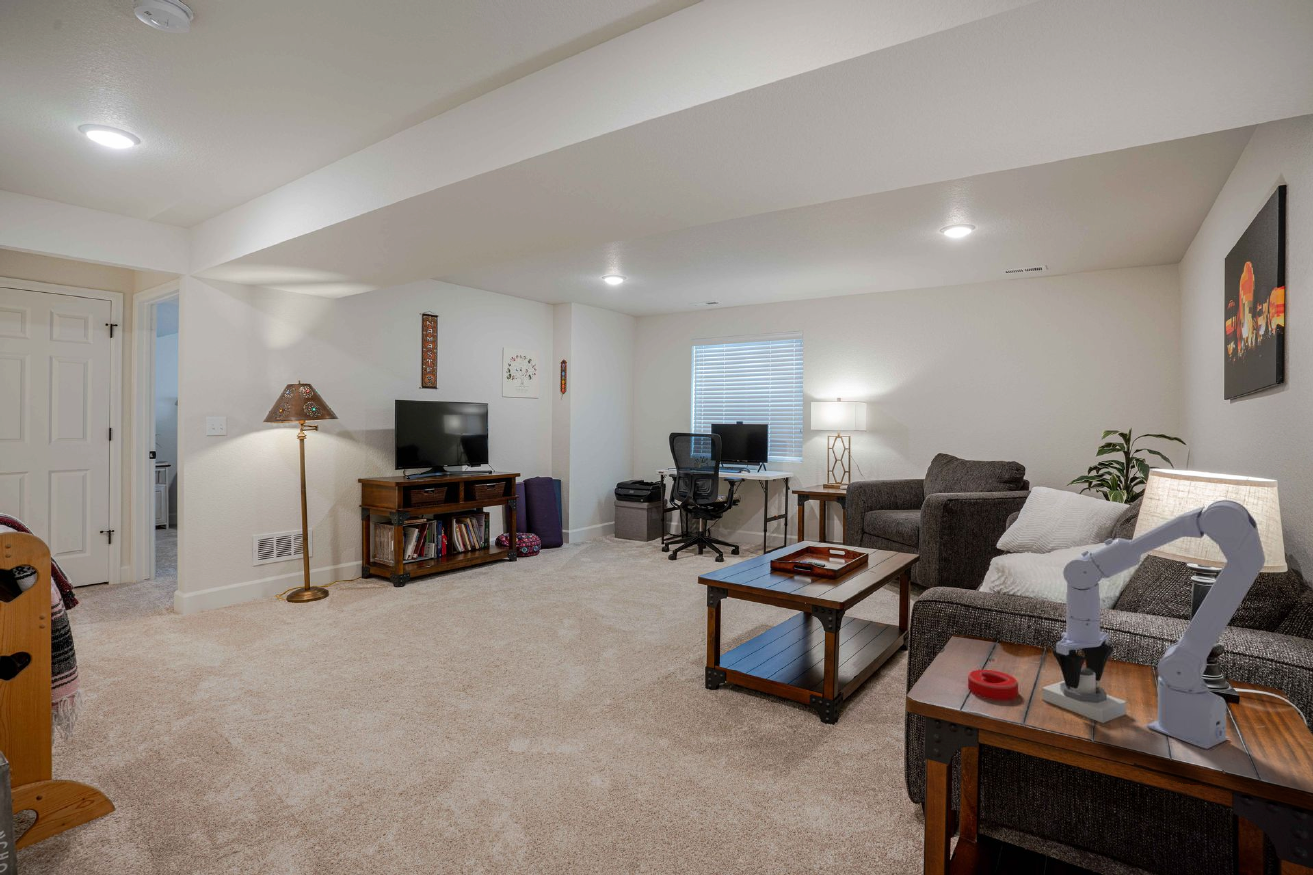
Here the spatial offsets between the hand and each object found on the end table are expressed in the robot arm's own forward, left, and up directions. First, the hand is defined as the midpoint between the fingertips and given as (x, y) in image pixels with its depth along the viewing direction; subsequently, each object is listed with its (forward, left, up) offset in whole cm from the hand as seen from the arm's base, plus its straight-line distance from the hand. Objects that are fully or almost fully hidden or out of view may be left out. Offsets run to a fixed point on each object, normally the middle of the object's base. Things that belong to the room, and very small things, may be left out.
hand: (1083, 682), depth 132 cm
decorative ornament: (+14, +9, -5) cm, 17 cm away
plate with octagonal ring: (0, 0, -5) cm, 5 cm away
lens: (0, 0, -2) cm, 2 cm away
